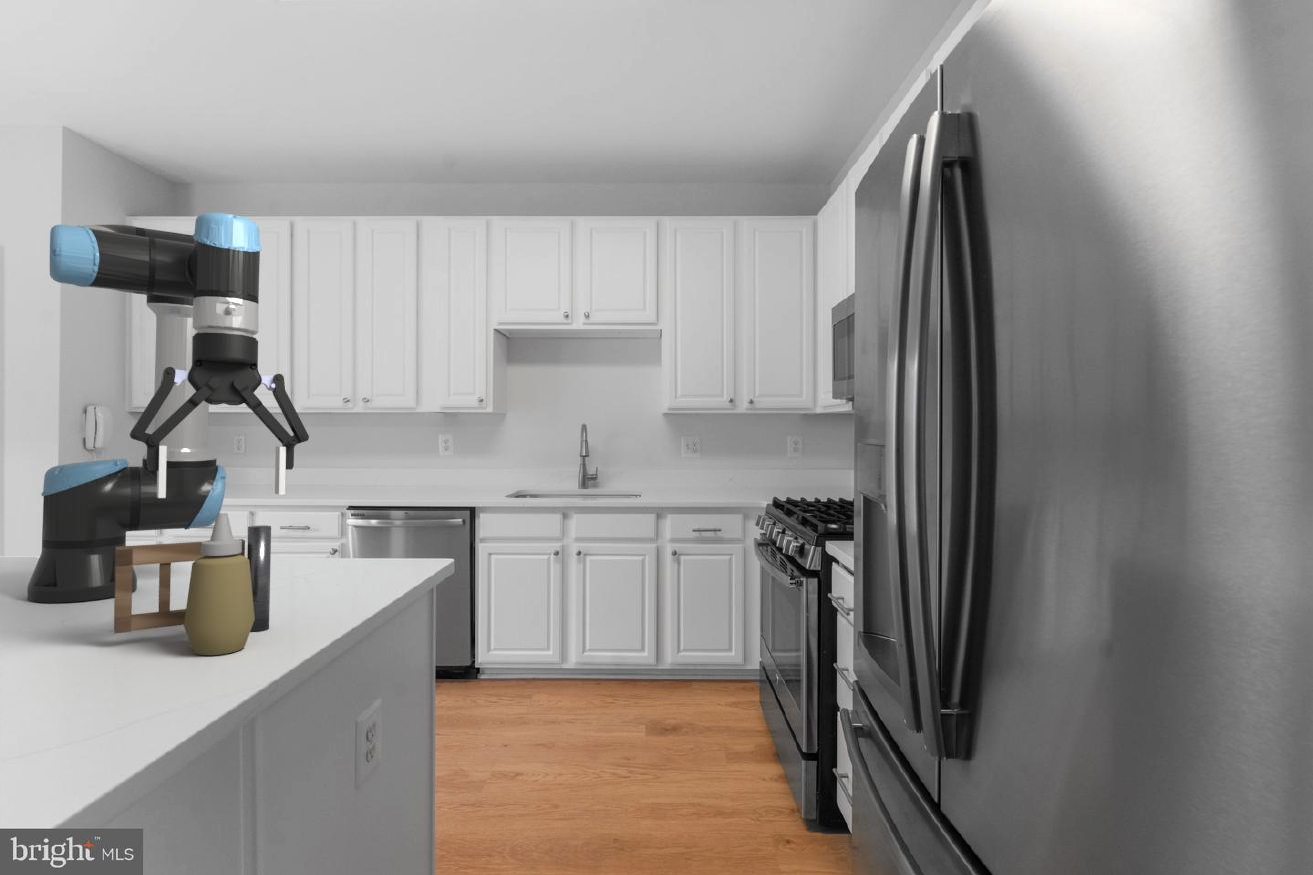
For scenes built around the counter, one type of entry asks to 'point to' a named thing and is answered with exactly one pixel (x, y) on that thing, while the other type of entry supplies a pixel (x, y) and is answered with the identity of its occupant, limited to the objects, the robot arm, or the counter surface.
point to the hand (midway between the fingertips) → (223, 495)
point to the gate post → (260, 574)
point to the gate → (164, 557)
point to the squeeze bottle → (219, 595)
